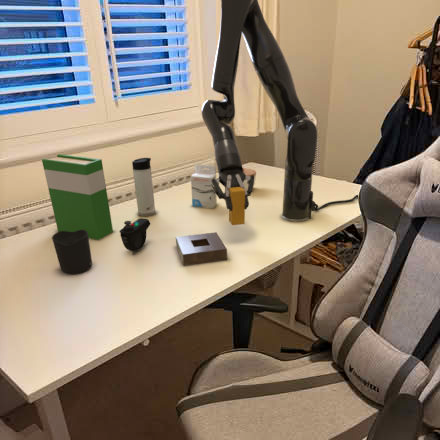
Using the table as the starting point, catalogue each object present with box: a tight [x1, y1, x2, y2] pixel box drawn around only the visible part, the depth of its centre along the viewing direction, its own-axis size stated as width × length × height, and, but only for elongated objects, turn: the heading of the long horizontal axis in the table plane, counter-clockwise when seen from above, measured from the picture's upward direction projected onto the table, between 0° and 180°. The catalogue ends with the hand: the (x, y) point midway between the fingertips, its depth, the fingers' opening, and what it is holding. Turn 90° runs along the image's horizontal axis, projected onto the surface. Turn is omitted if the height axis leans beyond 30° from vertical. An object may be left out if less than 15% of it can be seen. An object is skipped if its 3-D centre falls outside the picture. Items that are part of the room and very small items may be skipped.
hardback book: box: [41, 154, 114, 241], centre depth 143 cm, size 18×7×24 cm, turn 63°
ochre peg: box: [228, 187, 246, 226], centre depth 134 cm, size 4×4×10 cm
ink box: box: [190, 163, 218, 209], centre depth 165 cm, size 9×5×15 cm, turn 71°
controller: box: [119, 217, 152, 252], centre depth 134 cm, size 4×12×10 cm, turn 157°
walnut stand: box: [175, 231, 228, 266], centre depth 132 cm, size 13×13×4 cm
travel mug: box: [131, 157, 156, 217], centre depth 158 cm, size 6×7×20 cm
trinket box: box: [242, 166, 257, 191], centre depth 181 cm, size 11×11×9 cm
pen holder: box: [51, 230, 93, 275], centre depth 124 cm, size 9×9×10 cm
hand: (238, 208), depth 133 cm, fingers closed on ochre peg, 4 cm apart
